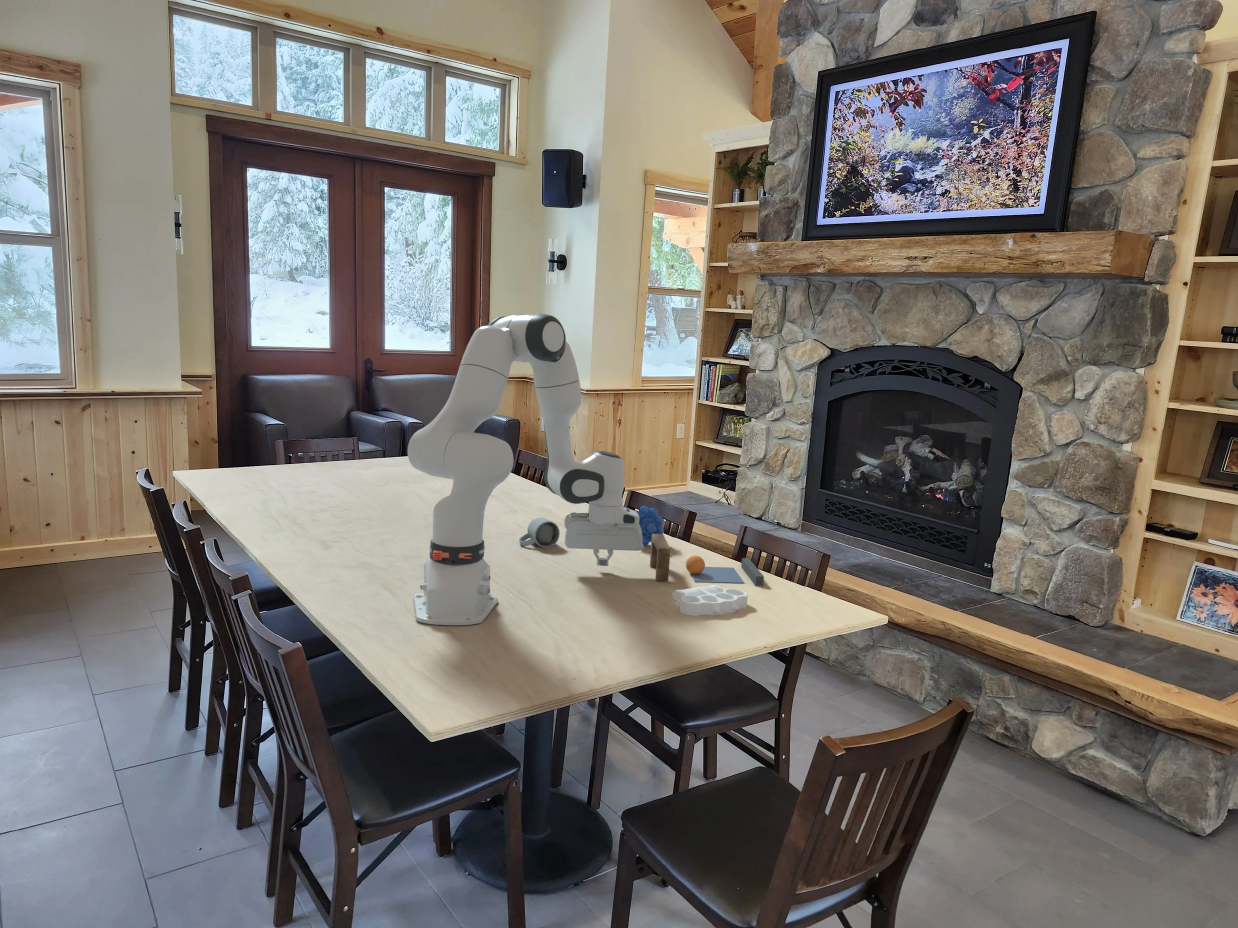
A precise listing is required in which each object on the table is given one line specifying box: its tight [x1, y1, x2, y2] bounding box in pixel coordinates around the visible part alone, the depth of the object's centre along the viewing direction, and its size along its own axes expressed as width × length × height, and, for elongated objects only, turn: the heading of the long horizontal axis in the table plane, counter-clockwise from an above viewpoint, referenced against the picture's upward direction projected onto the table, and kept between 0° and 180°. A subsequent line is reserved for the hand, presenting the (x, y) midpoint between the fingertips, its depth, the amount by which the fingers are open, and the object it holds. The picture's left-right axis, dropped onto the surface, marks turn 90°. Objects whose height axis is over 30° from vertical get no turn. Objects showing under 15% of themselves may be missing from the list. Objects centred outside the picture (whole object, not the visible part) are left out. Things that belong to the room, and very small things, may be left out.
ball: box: [685, 555, 706, 575], centre depth 221 cm, size 5×5×5 cm
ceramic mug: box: [518, 517, 561, 549], centre depth 239 cm, size 11×8×8 cm
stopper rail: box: [740, 557, 765, 587], centre depth 222 cm, size 16×2×2 cm, turn 5°
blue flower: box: [635, 505, 665, 546], centre depth 244 cm, size 12×7×12 cm, turn 117°
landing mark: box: [689, 566, 745, 584], centre depth 221 cm, size 13×13×1 cm
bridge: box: [649, 533, 671, 583], centre depth 219 cm, size 3×14×9 cm, turn 5°
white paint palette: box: [672, 584, 749, 617], centre depth 197 cm, size 3×18×15 cm
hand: (602, 565), depth 218 cm, fingers closed
